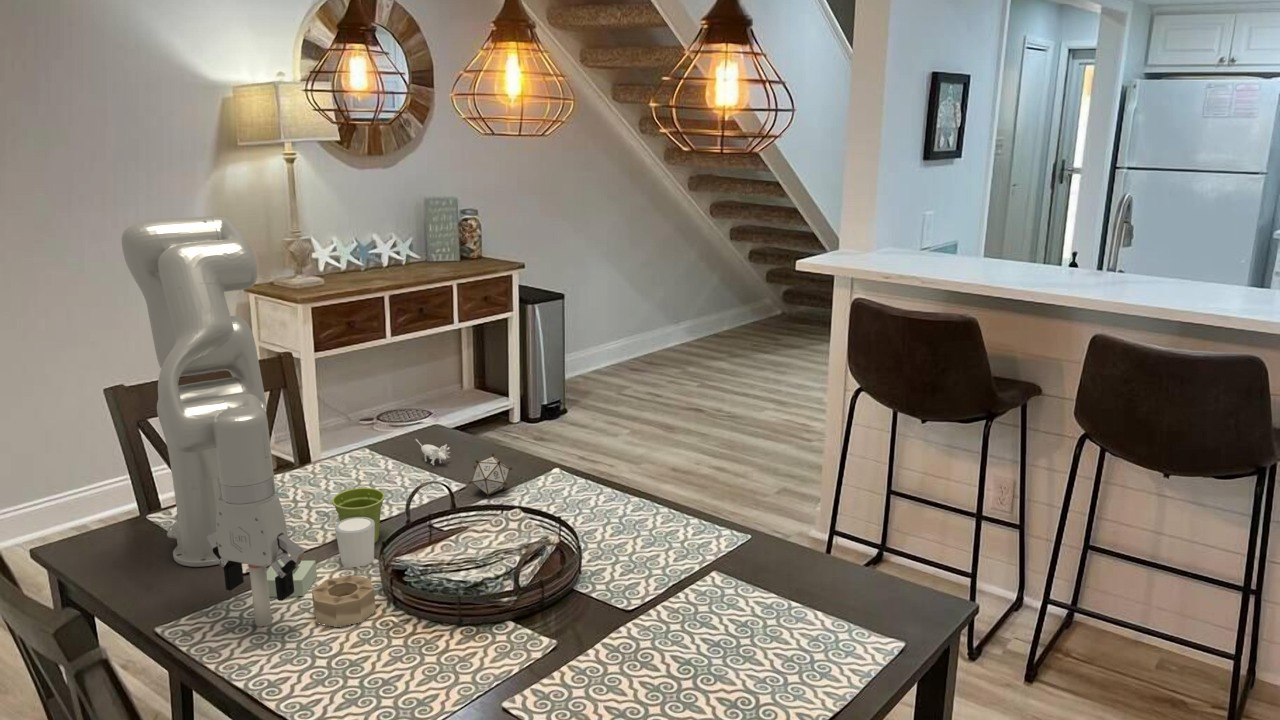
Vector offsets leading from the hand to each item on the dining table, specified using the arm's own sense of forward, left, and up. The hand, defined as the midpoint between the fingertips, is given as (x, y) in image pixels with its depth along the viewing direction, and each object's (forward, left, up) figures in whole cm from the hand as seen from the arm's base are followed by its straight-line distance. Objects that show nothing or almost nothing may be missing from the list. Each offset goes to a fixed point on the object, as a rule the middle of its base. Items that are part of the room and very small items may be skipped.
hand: (260, 591), depth 149 cm
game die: (+9, +58, -6) cm, 59 cm away
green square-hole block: (-4, +11, -5) cm, 13 cm away
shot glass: (+1, +23, -6) cm, 24 cm away
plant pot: (-3, +30, -6) cm, 31 cm away
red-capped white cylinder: (0, 0, -6) cm, 6 cm away
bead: (+10, +7, -5) cm, 13 cm away
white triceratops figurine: (-13, +70, -6) cm, 72 cm away
